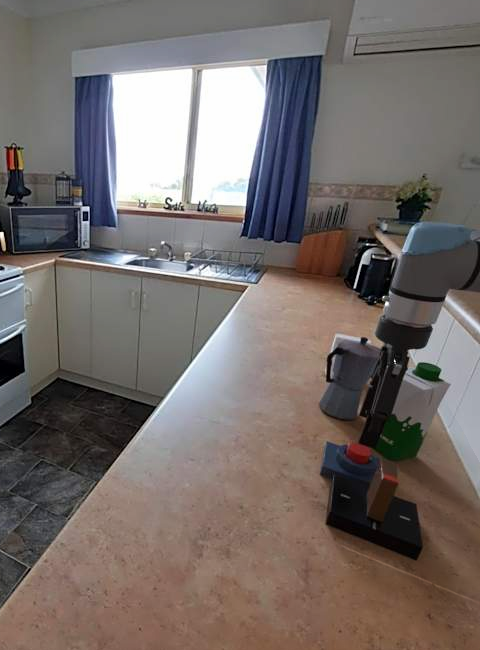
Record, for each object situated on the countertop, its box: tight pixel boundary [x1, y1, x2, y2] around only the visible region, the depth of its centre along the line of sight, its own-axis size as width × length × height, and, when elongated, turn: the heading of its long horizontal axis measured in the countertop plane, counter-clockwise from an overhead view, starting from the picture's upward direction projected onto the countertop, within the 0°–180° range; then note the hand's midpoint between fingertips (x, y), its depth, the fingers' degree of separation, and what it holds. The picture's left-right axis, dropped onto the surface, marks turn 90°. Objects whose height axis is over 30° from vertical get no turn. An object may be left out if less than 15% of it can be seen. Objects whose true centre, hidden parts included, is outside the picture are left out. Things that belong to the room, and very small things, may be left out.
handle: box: [367, 457, 399, 522], centre depth 65 cm, size 6×2×8 cm, turn 151°
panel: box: [325, 475, 424, 561], centre depth 67 cm, size 13×10×3 cm
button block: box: [319, 440, 381, 487], centre depth 78 cm, size 11×9×4 cm
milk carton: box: [372, 361, 452, 463], centre depth 82 cm, size 9×9×20 cm
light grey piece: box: [324, 333, 372, 379], centre depth 114 cm, size 9×9×12 cm
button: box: [346, 442, 372, 464], centre depth 77 cm, size 4×4×2 cm
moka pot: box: [318, 336, 381, 421], centre depth 95 cm, size 10×15×20 cm, turn 112°
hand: (366, 430), depth 75 cm, fingers open, 9 cm apart
